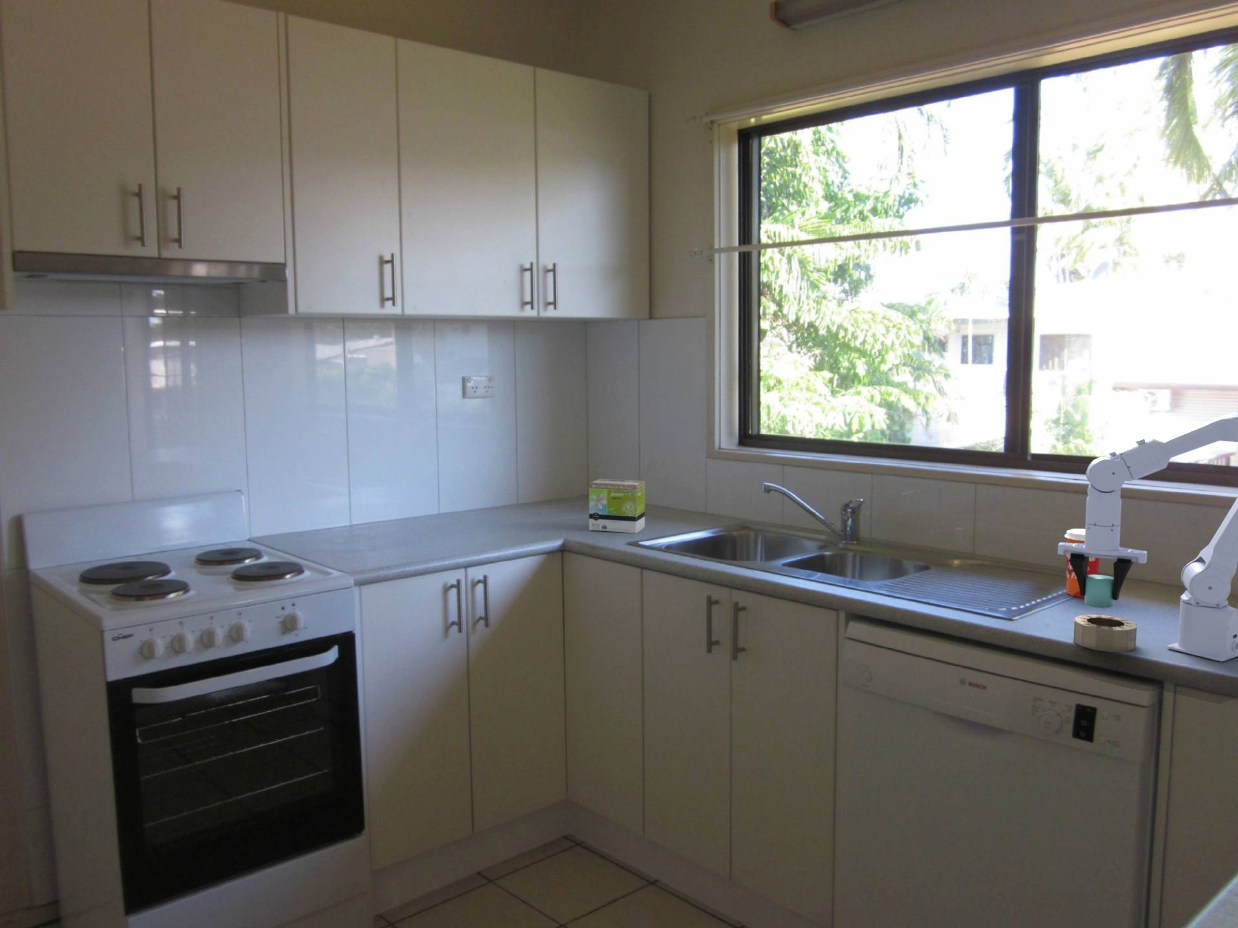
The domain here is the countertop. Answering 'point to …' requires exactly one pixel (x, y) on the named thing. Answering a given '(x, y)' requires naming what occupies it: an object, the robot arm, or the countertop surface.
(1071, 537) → the paper cup
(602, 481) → the tea box
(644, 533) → the countertop surface
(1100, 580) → the teal rounded cylinder
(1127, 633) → the brown faceted tube
